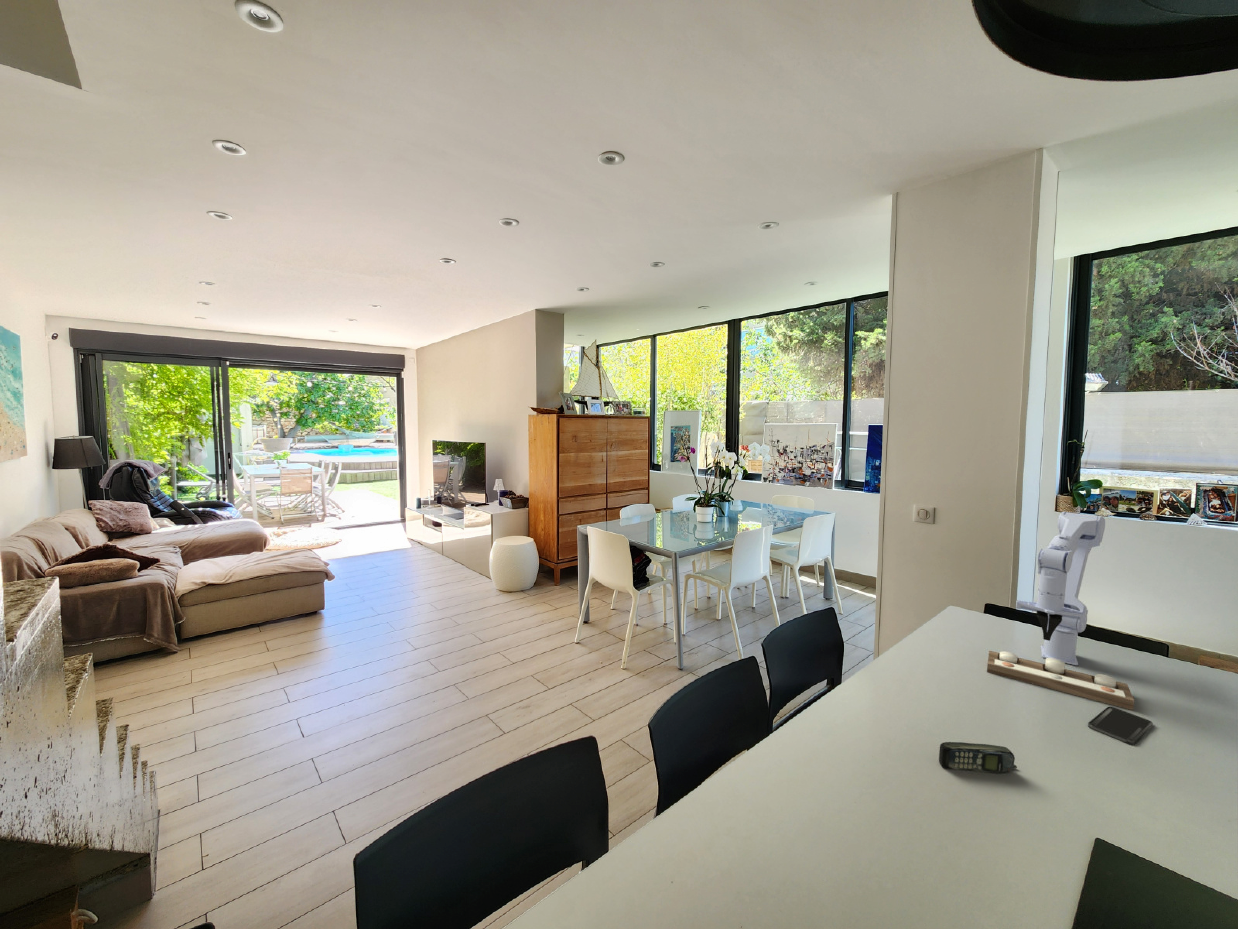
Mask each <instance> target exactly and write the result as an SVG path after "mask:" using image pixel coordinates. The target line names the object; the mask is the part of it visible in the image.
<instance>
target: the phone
mask: <svg viewBox="0 0 1238 929" xmlns="http://www.w3.org/2000/svg"><path fill="white" fill-rule="evenodd" d="M1153 725H1154V723H1153V721H1151V720H1149V719H1147V718H1144V717H1142V716H1139V715H1136V714H1134V713H1131V712H1129V711H1125V710H1123V709H1120V708H1117V707H1115V706H1107V707H1105V708H1104V709H1103V710H1102V711H1101V712H1100V713H1099V714H1097V715H1095V717H1093V718H1092V719H1091V720H1090V721H1089V722H1088V723H1087V727H1088V728H1089V730H1092V731H1095V732H1097V733H1098V734H1099V733H1100V734H1101V735H1104V736H1107V737H1110V738H1112V739H1114V740H1117V741H1119V742H1122V743H1124V744H1127V745H1131V746H1134V745H1136V744H1137V743H1138V742H1139V741H1140V740H1142V738H1143V736H1145V735H1146V734H1147V732H1148V731H1150V730H1151V729H1152V727H1153Z"/></svg>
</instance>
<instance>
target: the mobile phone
mask: <svg viewBox="0 0 1238 929" xmlns="http://www.w3.org/2000/svg"><path fill="white" fill-rule="evenodd" d="M1015 760H1016V758H1015V754H1014V752H1012V751H1011V750H1010V749H1009V748H1008V747H1007V746H1006V747H1005V746H1001V745H995V744H986V743H974V742H973V743H971V742H962V741H961V742H959V741H958V742H957V741H955V742H954V741H945V742H941V743H940V744H939V753H938V762H939V765H940V766H941V767H942V768H943V769H948V770H961V771H975V772H981V773H982V772H983V773H990V774H1000V773H1001V774H1002V773H1005V772H1010V771H1011V770H1013V769H1017V768H1018V766H1017V765H1016V764H1015Z"/></svg>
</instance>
